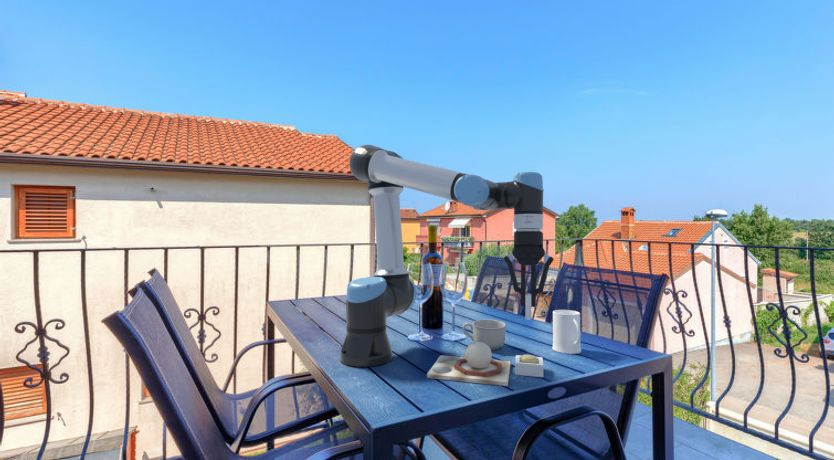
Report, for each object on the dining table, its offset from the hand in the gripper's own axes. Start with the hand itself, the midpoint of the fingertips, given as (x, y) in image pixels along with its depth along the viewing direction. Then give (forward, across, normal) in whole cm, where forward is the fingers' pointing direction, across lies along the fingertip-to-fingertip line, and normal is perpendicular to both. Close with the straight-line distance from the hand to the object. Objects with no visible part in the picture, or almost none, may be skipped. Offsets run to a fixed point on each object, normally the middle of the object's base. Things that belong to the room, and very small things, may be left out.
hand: (528, 318), depth 102 cm
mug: (+14, +12, +22) cm, 29 cm away
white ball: (+13, -13, -4) cm, 19 cm away
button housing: (+14, 0, 0) cm, 14 cm away
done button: (+12, 0, 0) cm, 12 cm away
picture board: (+14, -15, -4) cm, 21 cm away
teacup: (+14, -14, +20) cm, 28 cm away
